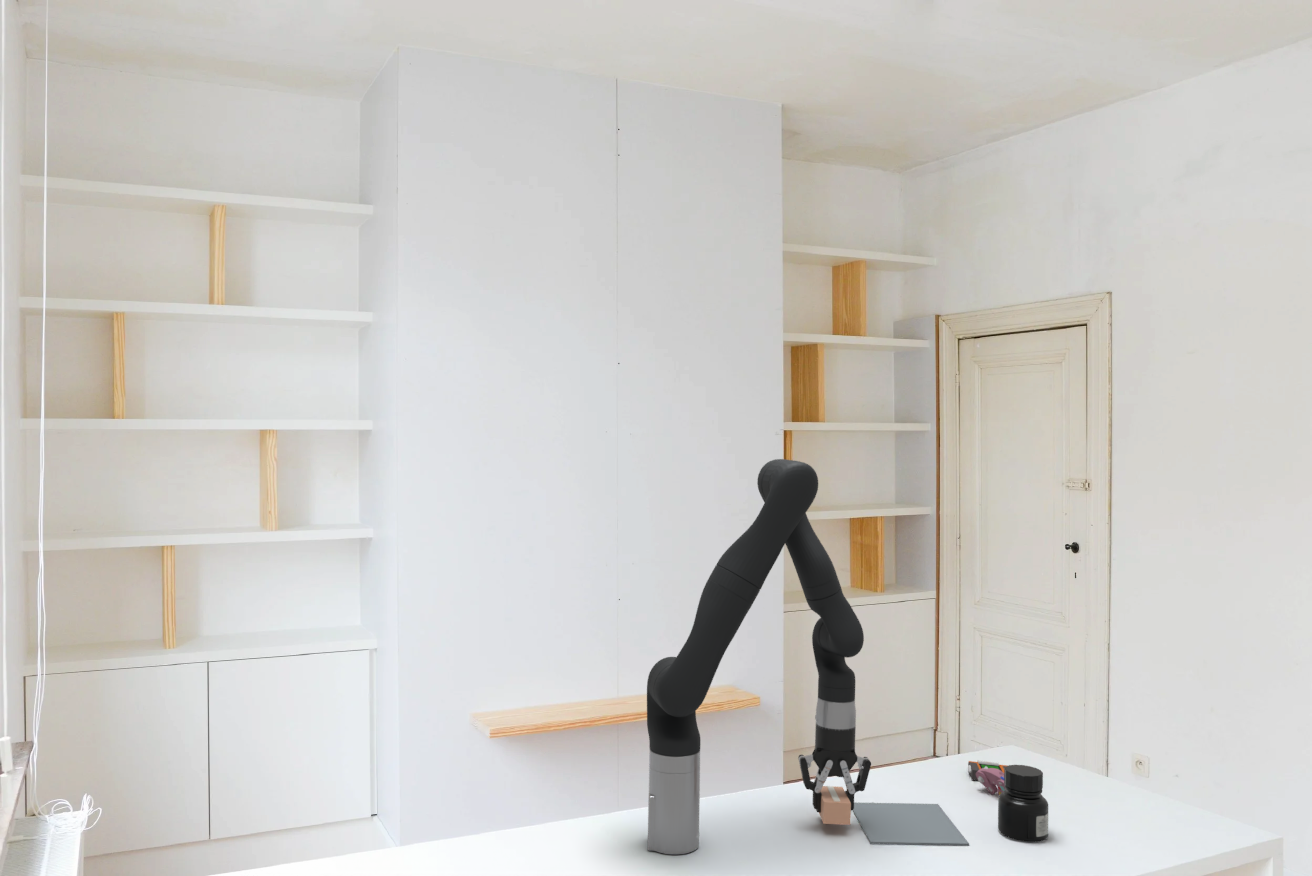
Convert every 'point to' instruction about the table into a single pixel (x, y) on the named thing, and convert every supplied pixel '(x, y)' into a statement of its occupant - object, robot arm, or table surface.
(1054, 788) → the table surface
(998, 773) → the video game controller
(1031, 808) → the ink bottle
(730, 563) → the robot arm
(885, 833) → the mat
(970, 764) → the electronic device
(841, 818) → the box
